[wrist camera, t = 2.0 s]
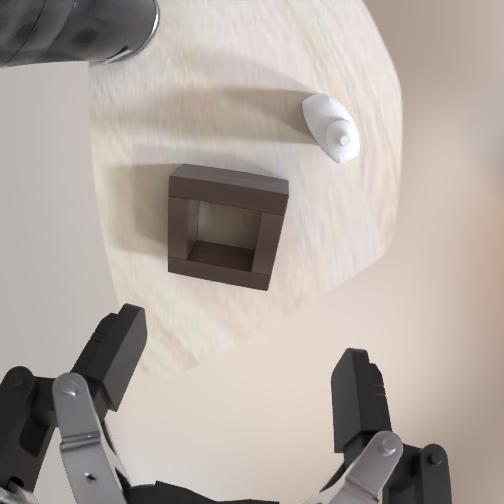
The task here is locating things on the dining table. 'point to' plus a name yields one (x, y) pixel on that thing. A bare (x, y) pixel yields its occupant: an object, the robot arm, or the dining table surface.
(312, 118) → the eye dropper bottle
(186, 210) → the holder
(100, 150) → the dining table surface
